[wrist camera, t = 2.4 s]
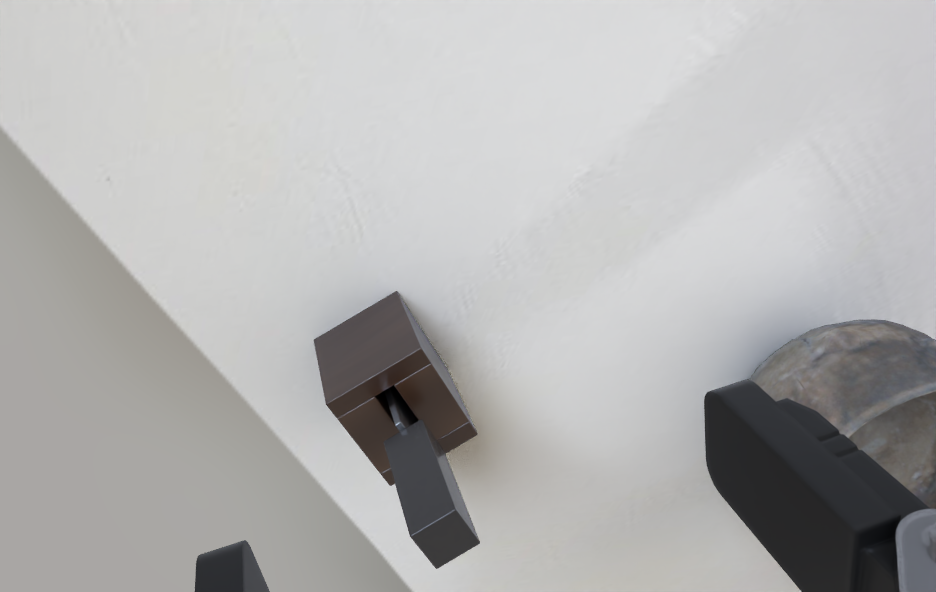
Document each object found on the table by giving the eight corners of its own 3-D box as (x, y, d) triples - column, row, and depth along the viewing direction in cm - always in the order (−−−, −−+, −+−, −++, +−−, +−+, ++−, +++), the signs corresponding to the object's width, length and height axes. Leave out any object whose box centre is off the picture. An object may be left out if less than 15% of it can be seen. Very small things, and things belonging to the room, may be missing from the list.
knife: (353, 345, 41) (404, 530, 29) (386, 326, 41) (450, 502, 29) (381, 384, 43) (441, 575, 30) (412, 366, 43) (485, 549, 30)
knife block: (313, 339, 40) (325, 404, 35) (396, 290, 40) (421, 347, 35) (371, 417, 43) (390, 486, 38) (448, 371, 43) (478, 434, 38)
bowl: (777, 255, 46) (903, 337, 37) (939, 325, 52) (1080, 409, 44) (659, 444, 50) (749, 557, 41) (823, 488, 56) (930, 594, 48)
